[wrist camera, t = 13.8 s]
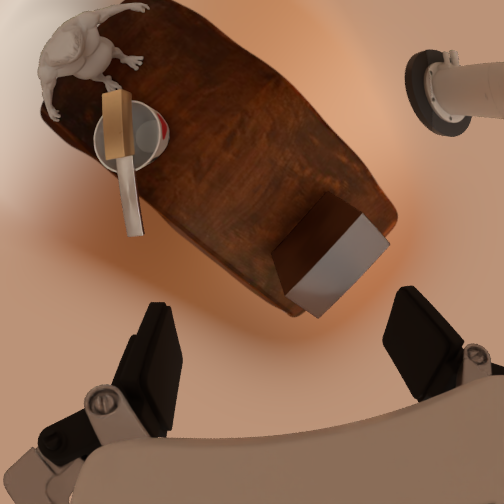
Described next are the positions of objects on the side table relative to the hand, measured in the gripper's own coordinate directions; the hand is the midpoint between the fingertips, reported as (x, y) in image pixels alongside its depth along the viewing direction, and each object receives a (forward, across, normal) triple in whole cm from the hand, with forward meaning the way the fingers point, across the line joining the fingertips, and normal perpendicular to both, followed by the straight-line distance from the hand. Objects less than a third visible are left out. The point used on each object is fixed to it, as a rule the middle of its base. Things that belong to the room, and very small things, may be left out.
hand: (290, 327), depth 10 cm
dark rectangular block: (+30, -10, +8) cm, 32 cm away
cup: (+30, +14, -8) cm, 34 cm away
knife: (+20, +14, -5) cm, 25 cm away
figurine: (+30, +18, -19) cm, 40 cm away
